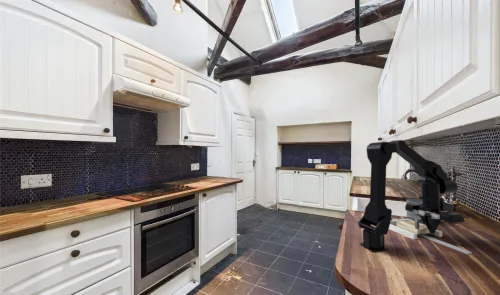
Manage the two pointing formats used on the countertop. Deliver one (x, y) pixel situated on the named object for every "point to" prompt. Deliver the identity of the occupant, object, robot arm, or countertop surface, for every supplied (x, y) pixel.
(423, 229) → the beige hollow block
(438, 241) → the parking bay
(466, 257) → the countertop surface
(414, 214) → the small box
